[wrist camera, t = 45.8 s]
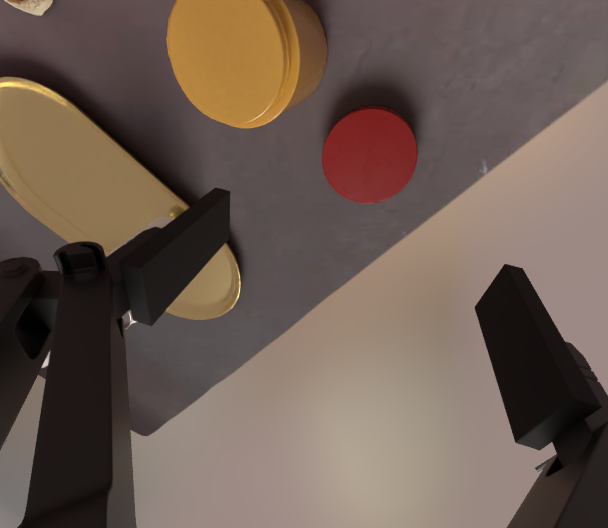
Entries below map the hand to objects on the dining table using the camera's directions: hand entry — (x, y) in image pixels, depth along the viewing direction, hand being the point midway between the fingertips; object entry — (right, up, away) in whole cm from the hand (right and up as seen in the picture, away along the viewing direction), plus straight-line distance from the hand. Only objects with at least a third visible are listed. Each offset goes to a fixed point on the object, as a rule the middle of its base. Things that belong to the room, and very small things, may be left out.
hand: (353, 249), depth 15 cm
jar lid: (+3, +8, +12) cm, 15 cm away
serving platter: (-25, +5, +24) cm, 35 cm away
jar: (-4, +16, +10) cm, 19 cm away
